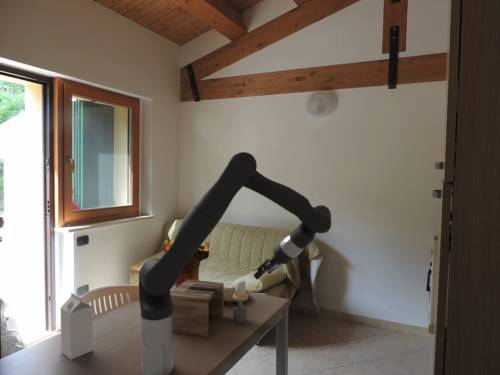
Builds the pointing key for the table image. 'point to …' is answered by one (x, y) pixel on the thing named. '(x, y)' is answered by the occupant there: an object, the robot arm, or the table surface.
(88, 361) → the table surface
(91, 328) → the milk carton
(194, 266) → the decorative vase
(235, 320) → the cylinder with orange collar
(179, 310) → the wooden slotted block
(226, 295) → the wood slice
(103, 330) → the table surface
